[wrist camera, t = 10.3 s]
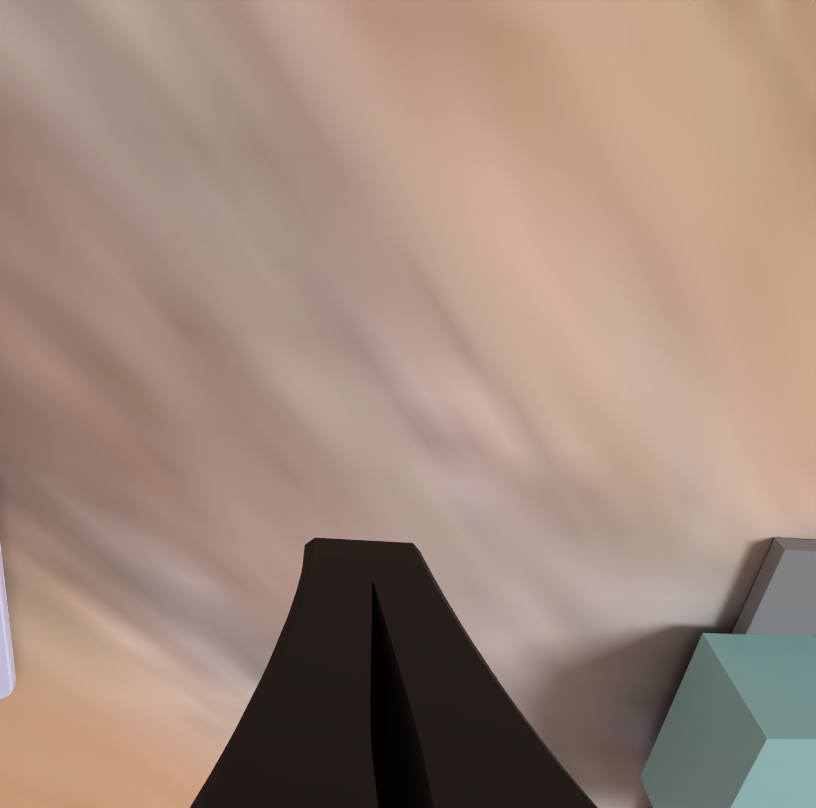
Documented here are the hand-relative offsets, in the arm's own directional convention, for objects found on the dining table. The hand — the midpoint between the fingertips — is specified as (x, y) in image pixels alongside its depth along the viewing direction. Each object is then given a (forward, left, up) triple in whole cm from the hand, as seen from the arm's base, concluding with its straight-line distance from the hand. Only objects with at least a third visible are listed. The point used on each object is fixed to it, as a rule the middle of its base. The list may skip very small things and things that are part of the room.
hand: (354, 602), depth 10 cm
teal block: (+13, -13, -8) cm, 20 cm away
